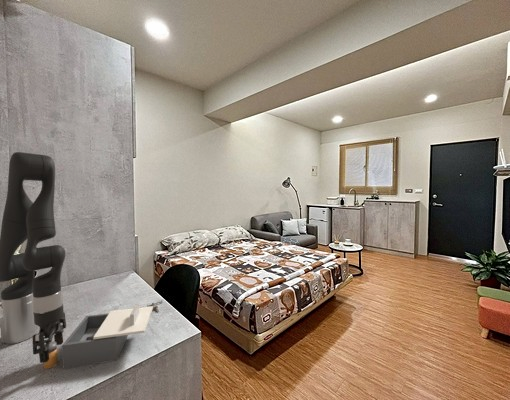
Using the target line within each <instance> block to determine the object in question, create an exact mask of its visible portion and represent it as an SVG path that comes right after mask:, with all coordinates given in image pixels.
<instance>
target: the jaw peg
mask: <svg viewBox="0 0 510 400" xmlns="http://www.w3.org/2000/svg"><path fill="white" fill-rule="evenodd" d="M45 345H46V343H45ZM48 350H49V360H48V361H47V362H44V363H42V365H43V369H44V370H48V369H52V368H54V367H55V366H56V365H58V363H59V362H58V361H59V359H58V345H57V343H56V342H55V340H52V341H51V342H50V343H49V347H48Z"/></svg>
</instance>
